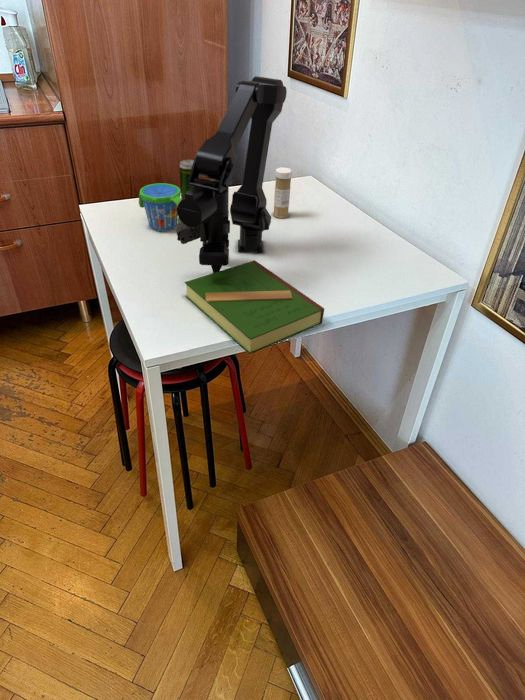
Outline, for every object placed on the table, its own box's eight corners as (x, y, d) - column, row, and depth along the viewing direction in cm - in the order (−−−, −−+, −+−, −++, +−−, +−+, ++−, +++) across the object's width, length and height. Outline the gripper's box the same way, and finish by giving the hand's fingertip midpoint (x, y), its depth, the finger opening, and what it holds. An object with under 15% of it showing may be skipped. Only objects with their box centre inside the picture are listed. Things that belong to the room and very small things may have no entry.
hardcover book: (322, 323, 106) (324, 308, 104) (249, 354, 97) (250, 338, 94) (252, 272, 121) (252, 258, 119) (183, 295, 112) (183, 280, 109)
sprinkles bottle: (286, 212, 151) (289, 166, 142) (290, 218, 147) (294, 172, 139) (271, 212, 150) (274, 167, 141) (274, 219, 146) (277, 172, 138)
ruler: (205, 294, 106) (205, 292, 105) (290, 292, 108) (290, 290, 108) (206, 302, 103) (206, 300, 103) (292, 299, 106) (292, 298, 105)
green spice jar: (201, 204, 152) (200, 164, 144) (184, 207, 150) (182, 166, 142) (195, 198, 155) (194, 158, 148) (178, 200, 153) (176, 160, 146)
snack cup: (130, 222, 140) (125, 186, 133) (160, 212, 146) (158, 177, 140) (165, 241, 132) (162, 204, 125) (196, 230, 138) (195, 193, 132)
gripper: (181, 192, 115) (184, 253, 125) (172, 227, 100) (177, 294, 110) (230, 193, 116) (229, 254, 125) (228, 229, 101) (228, 295, 111)
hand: (215, 273), depth 118 cm, fingers closed
